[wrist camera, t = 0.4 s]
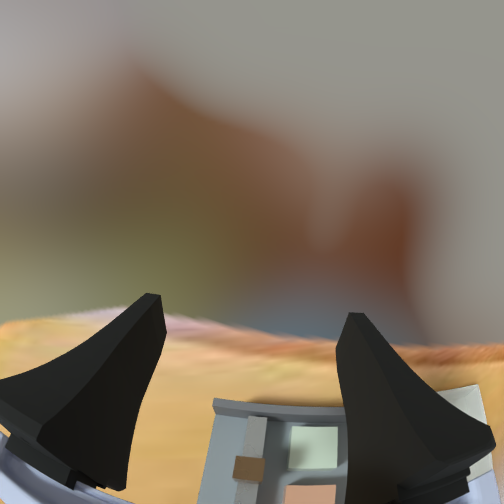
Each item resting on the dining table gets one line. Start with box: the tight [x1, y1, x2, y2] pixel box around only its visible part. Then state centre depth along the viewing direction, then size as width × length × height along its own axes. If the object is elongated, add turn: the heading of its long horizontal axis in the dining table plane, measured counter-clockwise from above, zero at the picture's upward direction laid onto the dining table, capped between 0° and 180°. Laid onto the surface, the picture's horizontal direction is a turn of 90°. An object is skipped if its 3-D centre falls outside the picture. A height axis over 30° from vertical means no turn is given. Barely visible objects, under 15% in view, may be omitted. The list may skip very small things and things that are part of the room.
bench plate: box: [197, 398, 348, 504], centre depth 17 cm, size 14×17×4 cm
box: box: [437, 384, 493, 482], centre depth 16 cm, size 16×12×3 cm
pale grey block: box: [232, 416, 267, 504], centre depth 16 cm, size 11×2×5 cm, turn 173°
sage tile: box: [286, 426, 338, 471], centre depth 19 cm, size 4×4×2 cm
